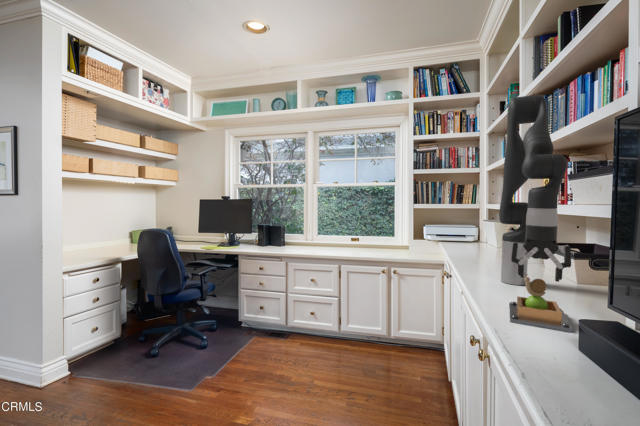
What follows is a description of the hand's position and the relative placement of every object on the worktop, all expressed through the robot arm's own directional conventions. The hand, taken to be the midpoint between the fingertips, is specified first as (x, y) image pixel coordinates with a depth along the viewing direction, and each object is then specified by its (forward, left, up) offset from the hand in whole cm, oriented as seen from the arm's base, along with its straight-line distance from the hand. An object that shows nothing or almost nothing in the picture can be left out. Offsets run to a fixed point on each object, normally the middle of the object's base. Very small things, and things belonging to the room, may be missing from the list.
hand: (538, 279), depth 94 cm
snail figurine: (0, -1, -11) cm, 11 cm away
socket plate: (0, 0, -11) cm, 11 cm away
